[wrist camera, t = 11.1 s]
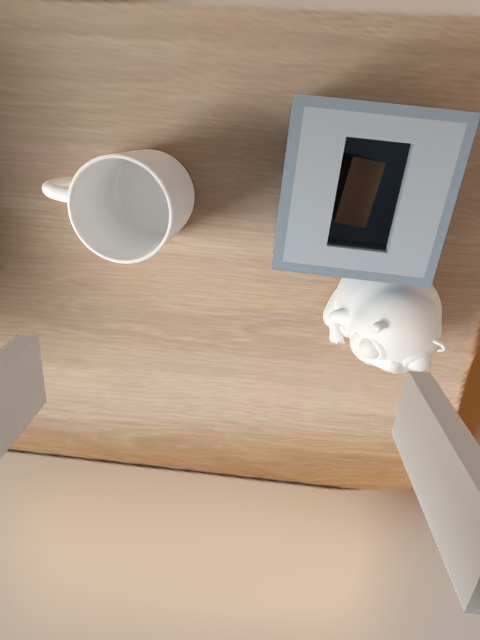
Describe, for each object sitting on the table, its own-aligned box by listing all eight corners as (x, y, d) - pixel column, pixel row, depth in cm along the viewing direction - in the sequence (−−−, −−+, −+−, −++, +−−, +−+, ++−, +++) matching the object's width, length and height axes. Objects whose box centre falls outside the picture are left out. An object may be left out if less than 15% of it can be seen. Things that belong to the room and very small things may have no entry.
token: (326, 207, 41) (334, 221, 35) (341, 151, 39) (353, 156, 33) (352, 213, 41) (365, 228, 35) (368, 157, 39) (385, 163, 33)
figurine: (361, 229, 43) (389, 263, 32) (446, 274, 44) (502, 322, 33) (310, 313, 47) (319, 369, 36) (389, 352, 48) (422, 419, 37)
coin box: (274, 237, 44) (272, 269, 34) (291, 103, 39) (295, 93, 29) (396, 251, 43) (430, 288, 33) (429, 117, 38) (481, 112, 28)
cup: (189, 243, 45) (165, 273, 35) (74, 219, 45) (19, 242, 35) (202, 158, 41) (179, 166, 32) (77, 132, 41) (18, 132, 32)
